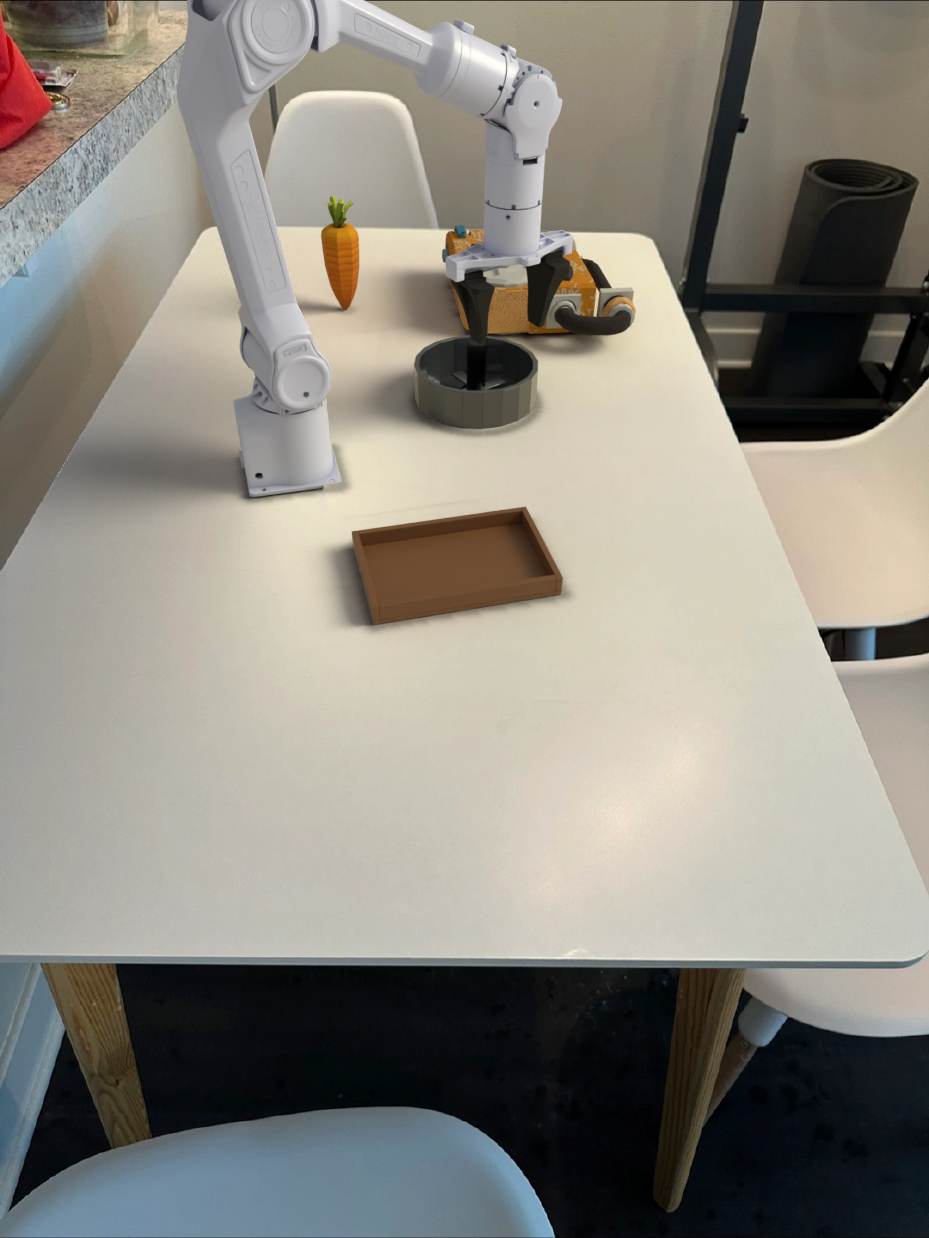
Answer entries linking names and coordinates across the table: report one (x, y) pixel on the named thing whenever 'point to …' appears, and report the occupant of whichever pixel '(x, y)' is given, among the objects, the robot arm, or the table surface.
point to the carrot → (341, 253)
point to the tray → (454, 564)
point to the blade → (476, 369)
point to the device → (567, 306)
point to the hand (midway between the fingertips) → (507, 331)
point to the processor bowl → (475, 408)
